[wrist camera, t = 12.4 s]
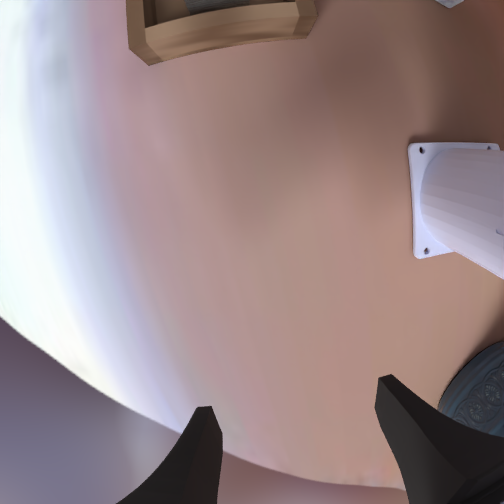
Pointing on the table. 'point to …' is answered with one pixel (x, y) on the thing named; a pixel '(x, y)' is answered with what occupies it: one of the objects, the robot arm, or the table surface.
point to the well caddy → (211, 26)
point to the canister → (478, 393)
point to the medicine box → (449, 2)
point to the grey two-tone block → (213, 5)
